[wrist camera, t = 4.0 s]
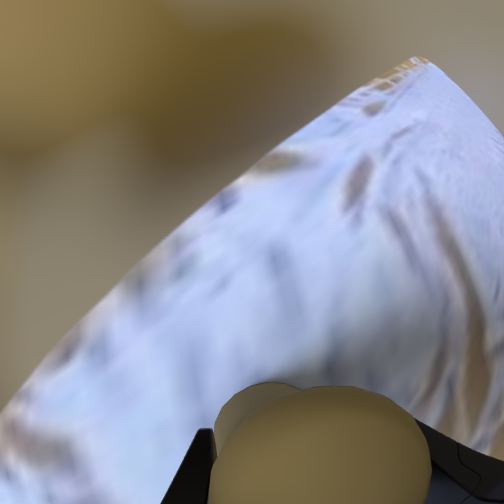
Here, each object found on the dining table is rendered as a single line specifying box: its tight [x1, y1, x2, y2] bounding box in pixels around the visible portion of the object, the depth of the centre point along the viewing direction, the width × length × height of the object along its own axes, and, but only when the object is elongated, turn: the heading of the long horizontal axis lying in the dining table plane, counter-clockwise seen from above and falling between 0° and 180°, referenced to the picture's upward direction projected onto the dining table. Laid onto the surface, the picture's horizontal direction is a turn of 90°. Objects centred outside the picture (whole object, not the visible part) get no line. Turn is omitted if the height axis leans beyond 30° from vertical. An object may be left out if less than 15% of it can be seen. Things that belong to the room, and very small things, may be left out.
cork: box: [208, 382, 432, 504], centre depth 8 cm, size 6×6×11 cm
